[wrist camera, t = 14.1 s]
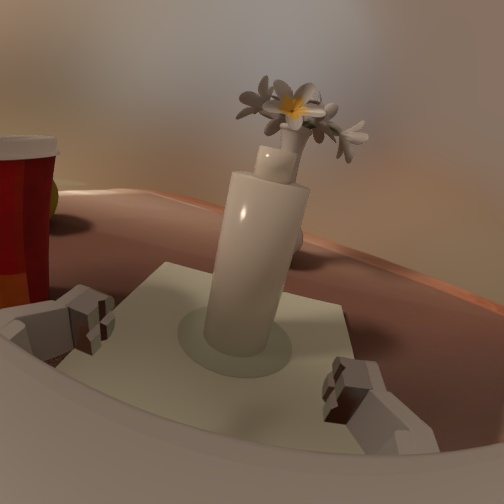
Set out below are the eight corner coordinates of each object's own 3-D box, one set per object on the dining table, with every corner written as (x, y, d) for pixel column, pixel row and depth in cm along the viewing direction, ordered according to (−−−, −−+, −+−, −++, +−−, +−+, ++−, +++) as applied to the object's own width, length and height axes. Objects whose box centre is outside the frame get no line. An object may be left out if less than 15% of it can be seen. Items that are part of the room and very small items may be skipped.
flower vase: (341, 276, 43) (387, 110, 34) (220, 273, 35) (266, 59, 27) (300, 243, 54) (333, 108, 45) (199, 235, 46) (231, 76, 38)
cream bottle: (195, 345, 20) (231, 139, 16) (212, 311, 25) (245, 142, 20) (263, 364, 20) (321, 159, 15) (269, 326, 25) (314, 158, 20)
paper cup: (43, 273, 25) (46, 134, 20) (73, 309, 22) (76, 138, 17) (-20, 290, 19) (-29, 138, 14) (-4, 335, 15) (-25, 142, 10)
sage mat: (52, 384, 14) (49, 372, 14) (164, 269, 33) (165, 260, 32) (367, 472, 13) (376, 463, 13) (337, 313, 32) (341, 304, 31)
